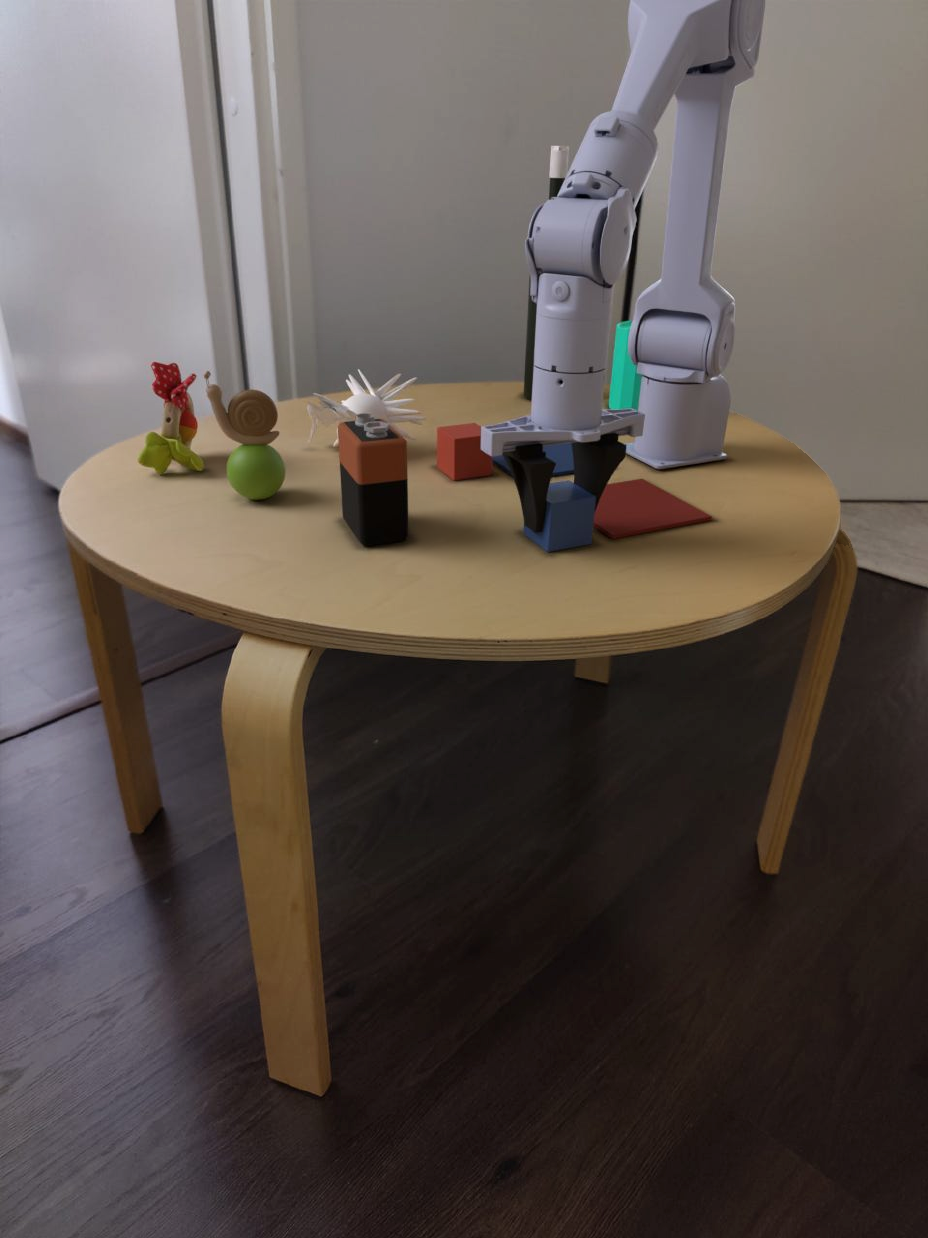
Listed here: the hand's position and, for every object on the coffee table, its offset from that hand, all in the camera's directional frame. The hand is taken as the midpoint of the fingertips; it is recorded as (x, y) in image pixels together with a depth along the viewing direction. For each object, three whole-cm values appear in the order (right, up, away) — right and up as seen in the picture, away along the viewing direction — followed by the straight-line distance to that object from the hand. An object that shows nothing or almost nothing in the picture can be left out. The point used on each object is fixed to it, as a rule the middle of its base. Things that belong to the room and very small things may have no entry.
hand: (557, 524), depth 75 cm
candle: (+14, +19, +39) cm, 45 cm away
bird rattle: (-38, +8, +16) cm, 42 cm away
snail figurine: (-28, +3, +8) cm, 30 cm away
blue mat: (0, +9, +20) cm, 22 cm away
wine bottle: (+3, +22, +43) cm, 48 cm away
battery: (-16, -1, +2) cm, 16 cm away
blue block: (0, -1, +1) cm, 1 cm away
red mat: (+8, +2, +7) cm, 11 cm away
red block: (-8, +7, +16) cm, 19 cm away
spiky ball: (-20, +10, +21) cm, 31 cm away
